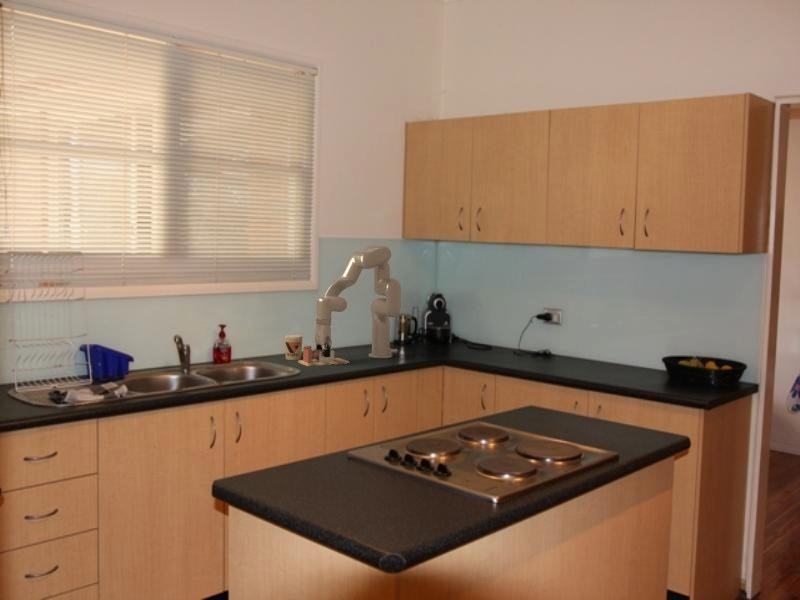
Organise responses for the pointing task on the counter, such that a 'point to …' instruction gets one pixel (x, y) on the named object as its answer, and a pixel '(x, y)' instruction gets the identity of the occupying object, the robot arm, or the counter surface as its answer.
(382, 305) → the robot arm
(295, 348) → the coffee cup
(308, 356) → the red toy hammer
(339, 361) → the birch board
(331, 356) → the coupler lock
